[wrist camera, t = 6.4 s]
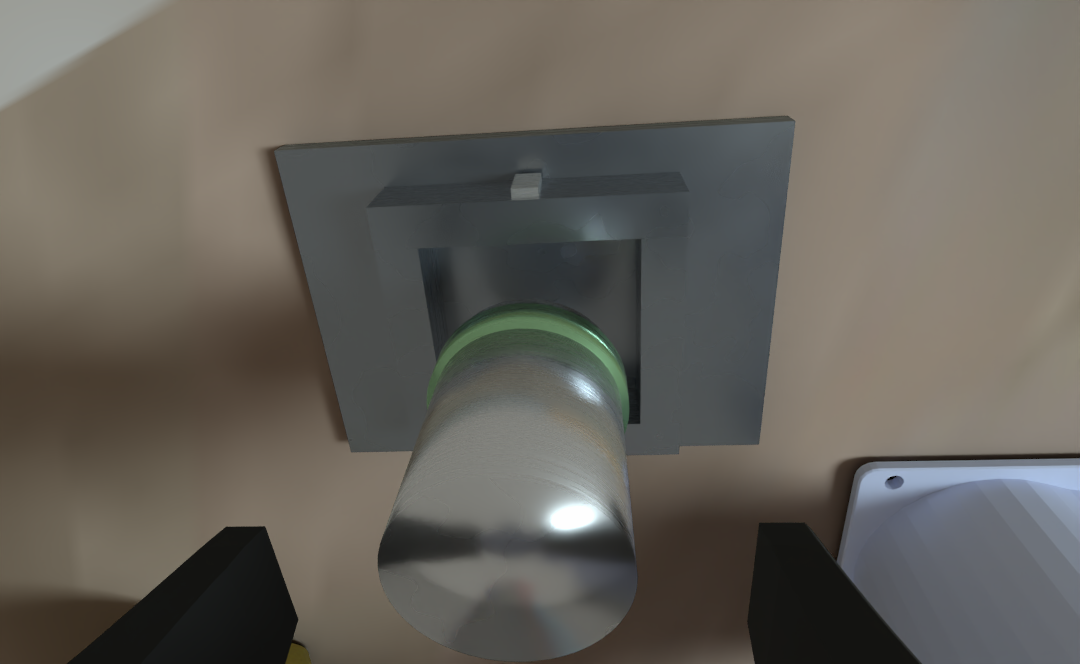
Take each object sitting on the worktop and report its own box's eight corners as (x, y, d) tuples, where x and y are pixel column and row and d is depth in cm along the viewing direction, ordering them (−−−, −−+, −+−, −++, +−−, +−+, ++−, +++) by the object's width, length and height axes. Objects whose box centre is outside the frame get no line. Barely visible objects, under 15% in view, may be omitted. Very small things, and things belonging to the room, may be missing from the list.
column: (625, 287, 13) (649, 466, 9) (626, 449, 15) (647, 669, 10) (425, 295, 14) (340, 472, 9) (451, 452, 16) (393, 666, 11)
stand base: (787, 115, 15) (818, 136, 13) (753, 431, 19) (773, 482, 17) (283, 145, 16) (243, 168, 14) (357, 439, 20) (333, 488, 18)
